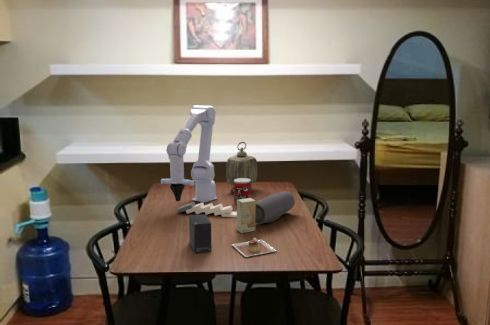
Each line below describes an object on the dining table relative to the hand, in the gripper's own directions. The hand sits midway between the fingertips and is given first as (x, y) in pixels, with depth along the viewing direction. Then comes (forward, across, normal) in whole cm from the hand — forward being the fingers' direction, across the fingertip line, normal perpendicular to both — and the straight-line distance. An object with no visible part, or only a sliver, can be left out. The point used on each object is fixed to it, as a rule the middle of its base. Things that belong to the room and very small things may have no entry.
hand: (178, 200), depth 208 cm
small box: (+5, +23, -36) cm, 43 cm away
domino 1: (+4, 0, 0) cm, 4 cm away
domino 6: (+5, +20, 0) cm, 21 cm away
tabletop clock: (+5, +19, +38) cm, 43 cm away
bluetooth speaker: (+5, +42, -1) cm, 42 cm away
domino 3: (+4, +8, 0) cm, 9 cm away
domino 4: (+4, +13, 0) cm, 13 cm away
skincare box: (+5, +34, -16) cm, 38 cm away
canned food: (+5, +24, +18) cm, 30 cm away
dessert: (+6, +41, -34) cm, 54 cm away
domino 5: (+4, +17, 0) cm, 17 cm away
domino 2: (+4, +4, 0) cm, 6 cm away
